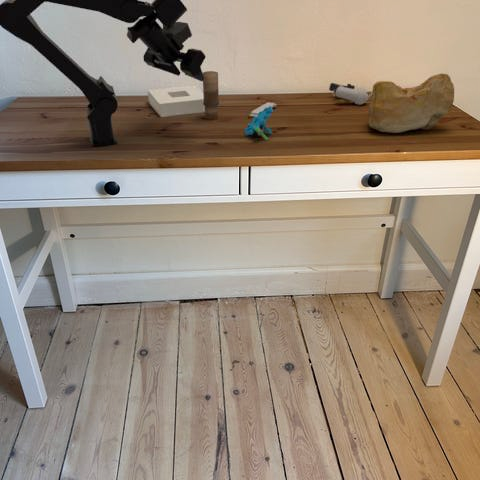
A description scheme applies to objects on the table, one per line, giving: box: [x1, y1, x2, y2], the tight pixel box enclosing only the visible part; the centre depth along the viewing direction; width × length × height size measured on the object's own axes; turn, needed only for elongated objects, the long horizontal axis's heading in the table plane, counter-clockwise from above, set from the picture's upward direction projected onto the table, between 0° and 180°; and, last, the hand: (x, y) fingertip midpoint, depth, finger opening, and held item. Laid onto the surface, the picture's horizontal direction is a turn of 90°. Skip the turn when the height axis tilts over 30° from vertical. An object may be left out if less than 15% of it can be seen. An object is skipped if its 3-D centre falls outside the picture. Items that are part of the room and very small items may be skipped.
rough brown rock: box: [367, 73, 455, 134], centre depth 132 cm, size 23×17×15 cm
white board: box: [147, 84, 205, 118], centre depth 148 cm, size 16×16×4 cm
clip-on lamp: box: [328, 82, 373, 106], centre depth 154 cm, size 12×6×18 cm
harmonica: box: [247, 102, 278, 120], centre depth 144 cm, size 15×3×2 cm, turn 151°
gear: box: [244, 106, 274, 141], centre depth 127 cm, size 11×6×10 cm
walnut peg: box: [202, 70, 220, 121], centre depth 136 cm, size 5×5×13 cm
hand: (190, 77), depth 128 cm, fingers open, 9 cm apart
